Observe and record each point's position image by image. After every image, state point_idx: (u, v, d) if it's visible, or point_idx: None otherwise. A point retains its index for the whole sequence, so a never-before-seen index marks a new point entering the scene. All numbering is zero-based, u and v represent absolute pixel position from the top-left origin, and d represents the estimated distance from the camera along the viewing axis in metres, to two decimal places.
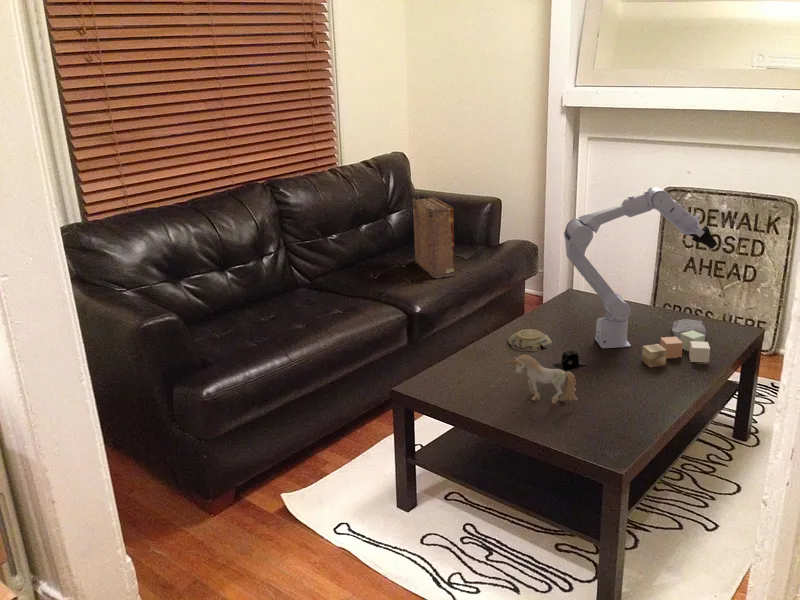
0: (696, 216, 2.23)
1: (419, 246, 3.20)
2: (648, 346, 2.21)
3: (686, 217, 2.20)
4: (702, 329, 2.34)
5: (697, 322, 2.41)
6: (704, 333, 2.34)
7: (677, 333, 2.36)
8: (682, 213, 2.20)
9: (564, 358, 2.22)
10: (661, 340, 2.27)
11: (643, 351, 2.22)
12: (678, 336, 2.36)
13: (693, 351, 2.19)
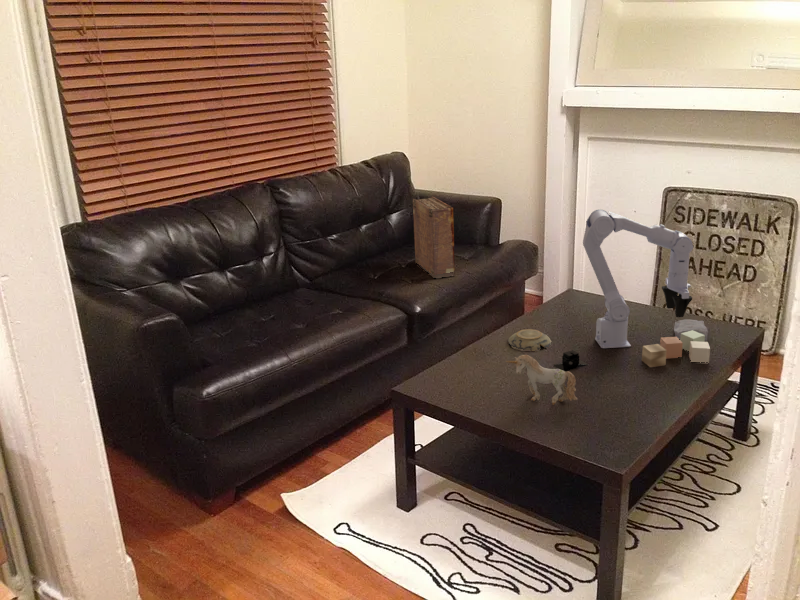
0: (688, 284, 2.28)
1: (419, 246, 3.20)
2: (648, 346, 2.21)
3: (684, 277, 2.25)
4: (704, 329, 2.34)
5: (699, 322, 2.41)
6: (706, 333, 2.34)
7: (679, 333, 2.36)
8: (684, 271, 2.24)
9: (565, 358, 2.22)
10: (661, 340, 2.27)
11: (643, 351, 2.22)
12: (680, 336, 2.36)
13: (693, 351, 2.19)
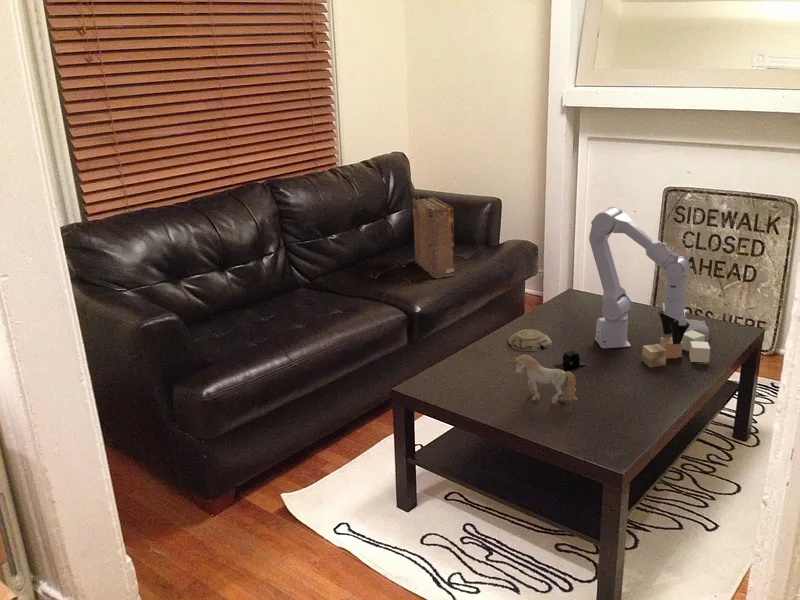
0: (685, 310, 2.21)
1: (419, 246, 3.20)
2: (648, 346, 2.21)
3: (681, 303, 2.18)
4: (705, 329, 2.34)
5: (700, 322, 2.41)
6: (707, 333, 2.34)
7: None
8: (676, 297, 2.17)
9: (565, 359, 2.22)
10: (661, 340, 2.27)
11: (643, 351, 2.22)
12: None
13: (693, 351, 2.19)
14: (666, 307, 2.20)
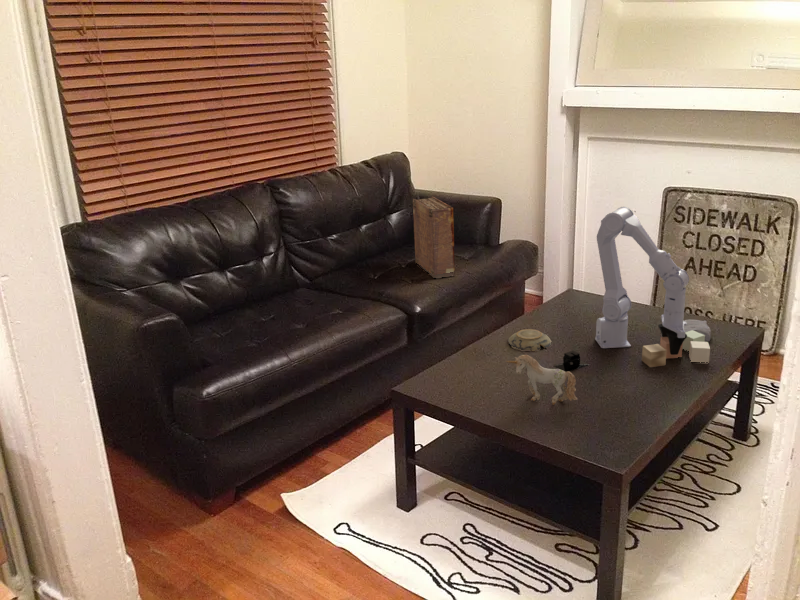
0: (684, 322, 2.23)
1: (419, 246, 3.20)
2: (648, 346, 2.21)
3: (680, 315, 2.19)
4: (707, 329, 2.34)
5: (702, 322, 2.41)
6: (709, 333, 2.34)
7: None
8: (675, 310, 2.18)
9: (566, 359, 2.21)
10: (661, 340, 2.27)
11: (643, 351, 2.22)
12: None
13: (693, 351, 2.19)
14: (665, 319, 2.22)
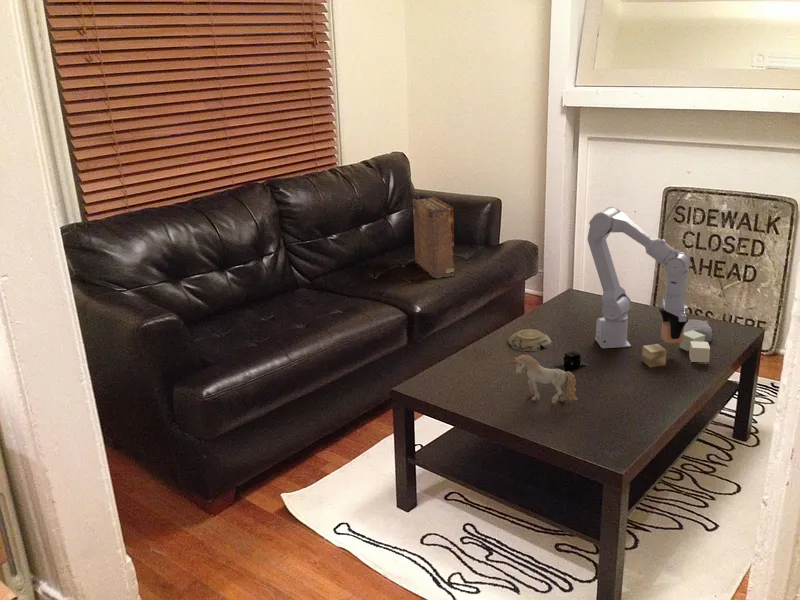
0: (685, 306, 2.21)
1: (419, 246, 3.20)
2: (648, 346, 2.21)
3: (682, 299, 2.17)
4: (708, 329, 2.34)
5: (703, 322, 2.41)
6: (710, 333, 2.34)
7: None
8: (677, 293, 2.17)
9: (566, 359, 2.21)
10: (662, 324, 2.25)
11: (643, 351, 2.22)
12: None
13: (693, 351, 2.19)
14: (666, 303, 2.20)
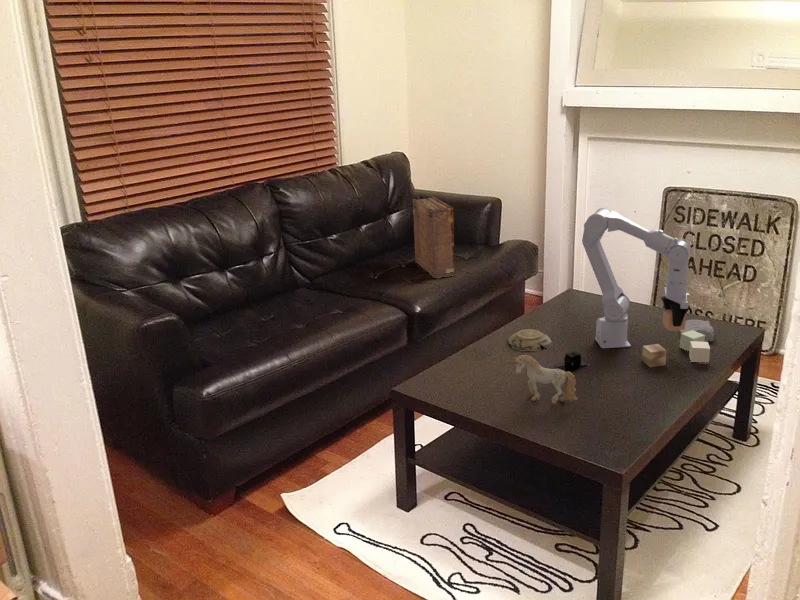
0: (687, 294, 2.22)
1: (419, 246, 3.20)
2: (648, 346, 2.21)
3: (683, 286, 2.18)
4: (710, 329, 2.34)
5: (704, 322, 2.41)
6: (712, 333, 2.33)
7: None
8: (680, 281, 2.17)
9: (567, 360, 2.21)
10: (664, 312, 2.26)
11: (643, 351, 2.22)
12: None
13: (693, 351, 2.19)
14: (668, 291, 2.21)
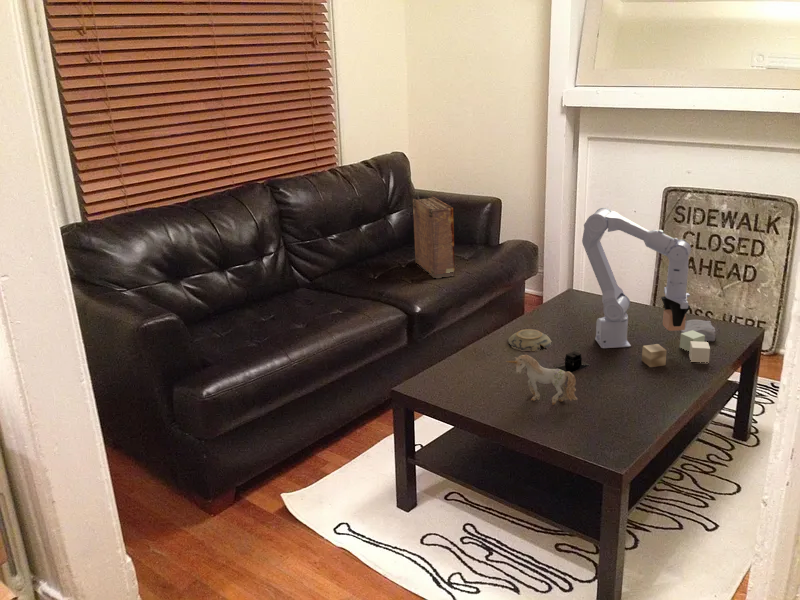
0: (687, 294, 2.22)
1: (419, 246, 3.20)
2: (648, 346, 2.21)
3: (683, 286, 2.18)
4: (712, 329, 2.34)
5: (706, 322, 2.41)
6: (714, 333, 2.33)
7: None
8: (680, 281, 2.17)
9: (568, 360, 2.21)
10: (664, 312, 2.26)
11: (643, 351, 2.22)
12: None
13: (693, 351, 2.19)
14: (668, 291, 2.21)
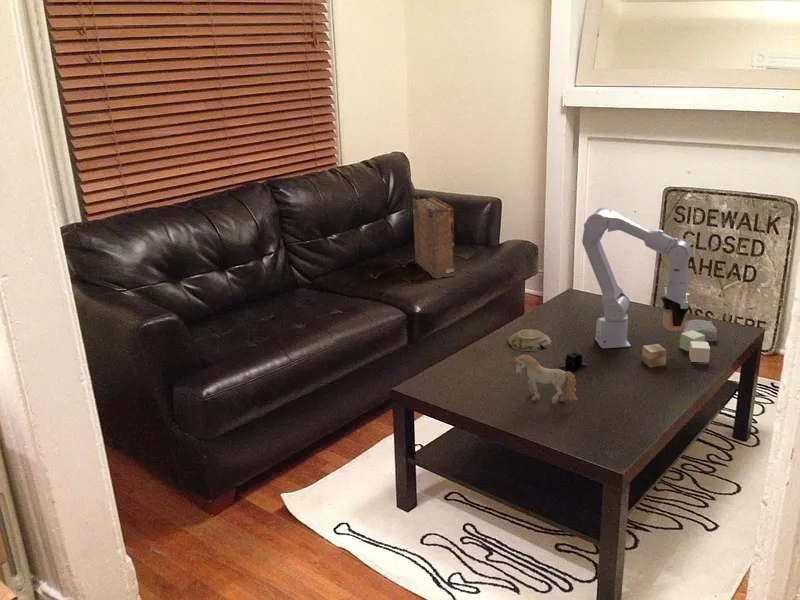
0: (687, 294, 2.22)
1: (419, 246, 3.20)
2: (648, 346, 2.21)
3: (683, 286, 2.18)
4: (713, 329, 2.34)
5: (707, 322, 2.41)
6: (715, 333, 2.33)
7: None
8: (680, 281, 2.17)
9: (568, 360, 2.20)
10: (664, 312, 2.26)
11: (643, 351, 2.22)
12: None
13: (693, 351, 2.19)
14: (668, 291, 2.21)
